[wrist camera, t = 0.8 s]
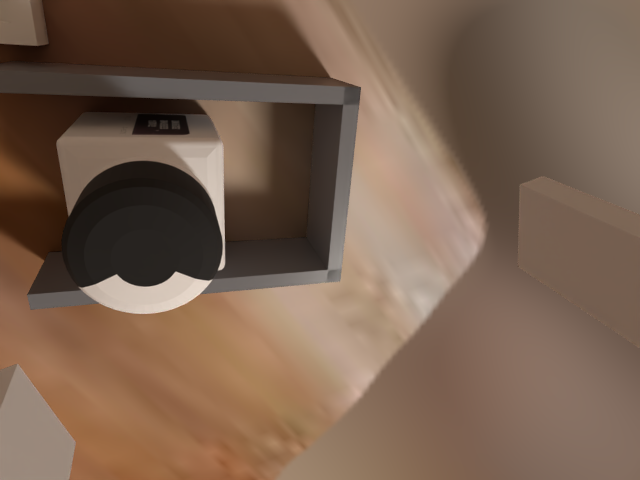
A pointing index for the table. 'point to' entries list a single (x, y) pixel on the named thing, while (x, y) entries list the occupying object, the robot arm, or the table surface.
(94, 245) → the container
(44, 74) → the bay
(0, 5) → the tray
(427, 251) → the table surface
